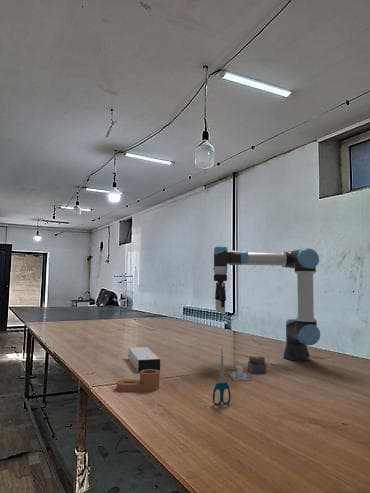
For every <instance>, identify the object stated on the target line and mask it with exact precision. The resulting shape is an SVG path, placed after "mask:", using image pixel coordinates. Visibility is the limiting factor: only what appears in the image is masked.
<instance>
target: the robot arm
mask: <svg viewBox="0 0 370 493" xmlns="http://www.w3.org/2000/svg"><path fill="white" fill-rule="evenodd" d="M319 262H320V257H319V254H318V253H317V251H316V250H315V249H314V248H310V247H304V248H300V249H299V248H298V249H295V250H289V251H282V252H281V253H279V252H248V251H247V250H230V249H228V247H227V246H221V245H220V246H215V247H214V249H213V268H212V270H213V281H214V282H215V294H214V299H215V312H219V314H224V315H226V301H227V296H226V283H225V282H227V281H228V275H227V274H228V265H230V266H235V265H236V266H243V265H244V266H279V267H280V266H281V267H282V268H289V269H294V273H295V274H296V275H297V277H296V278H297V317H296V318H294V319H287V320H286V322H285V335H286V336H285V338H286V339H285V342H286V343H285V344H286V345H285V347H284V351H283V354H282V356H283V359H285V360H289V361H296V362H297V361H299V362H307V361H309V360H311V355H310V353H309V352H310V351H309V349H308V346H313V345H316V344H317V343H318V342H319V340H320V338H321V331H320V329H319V327H318V320H317V319H316V318H315V314H314V312H315V309H314V308H315V307H314V304H315V303H314V274H316V272H317V266H318V265H319Z"/></svg>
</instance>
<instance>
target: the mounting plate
mask: <svg viewBox="0 0 370 493" xmlns="http://www.w3.org/2000/svg"><path fill="white" fill-rule="evenodd" d="M243 370H244V368H243V366H241V365H236V366H235V371H228V372H227V373H228V374H227V375H228V376H229V377H230V378H231V380H232V381H233V382H249V381H250V382H251V381H252V378H251V377H250V376H249V375H248V374H247V373H246V372H245V371H243Z"/></svg>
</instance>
